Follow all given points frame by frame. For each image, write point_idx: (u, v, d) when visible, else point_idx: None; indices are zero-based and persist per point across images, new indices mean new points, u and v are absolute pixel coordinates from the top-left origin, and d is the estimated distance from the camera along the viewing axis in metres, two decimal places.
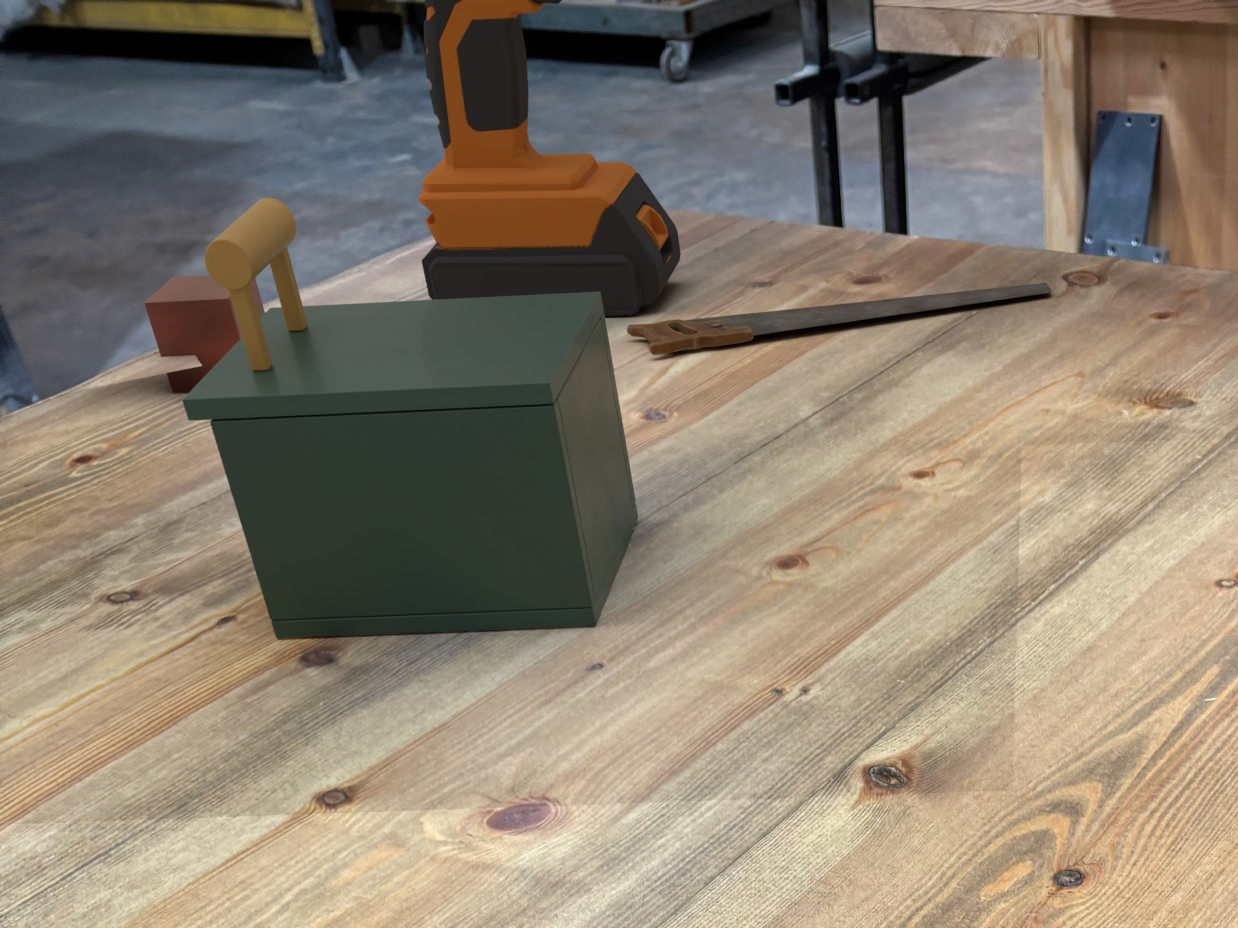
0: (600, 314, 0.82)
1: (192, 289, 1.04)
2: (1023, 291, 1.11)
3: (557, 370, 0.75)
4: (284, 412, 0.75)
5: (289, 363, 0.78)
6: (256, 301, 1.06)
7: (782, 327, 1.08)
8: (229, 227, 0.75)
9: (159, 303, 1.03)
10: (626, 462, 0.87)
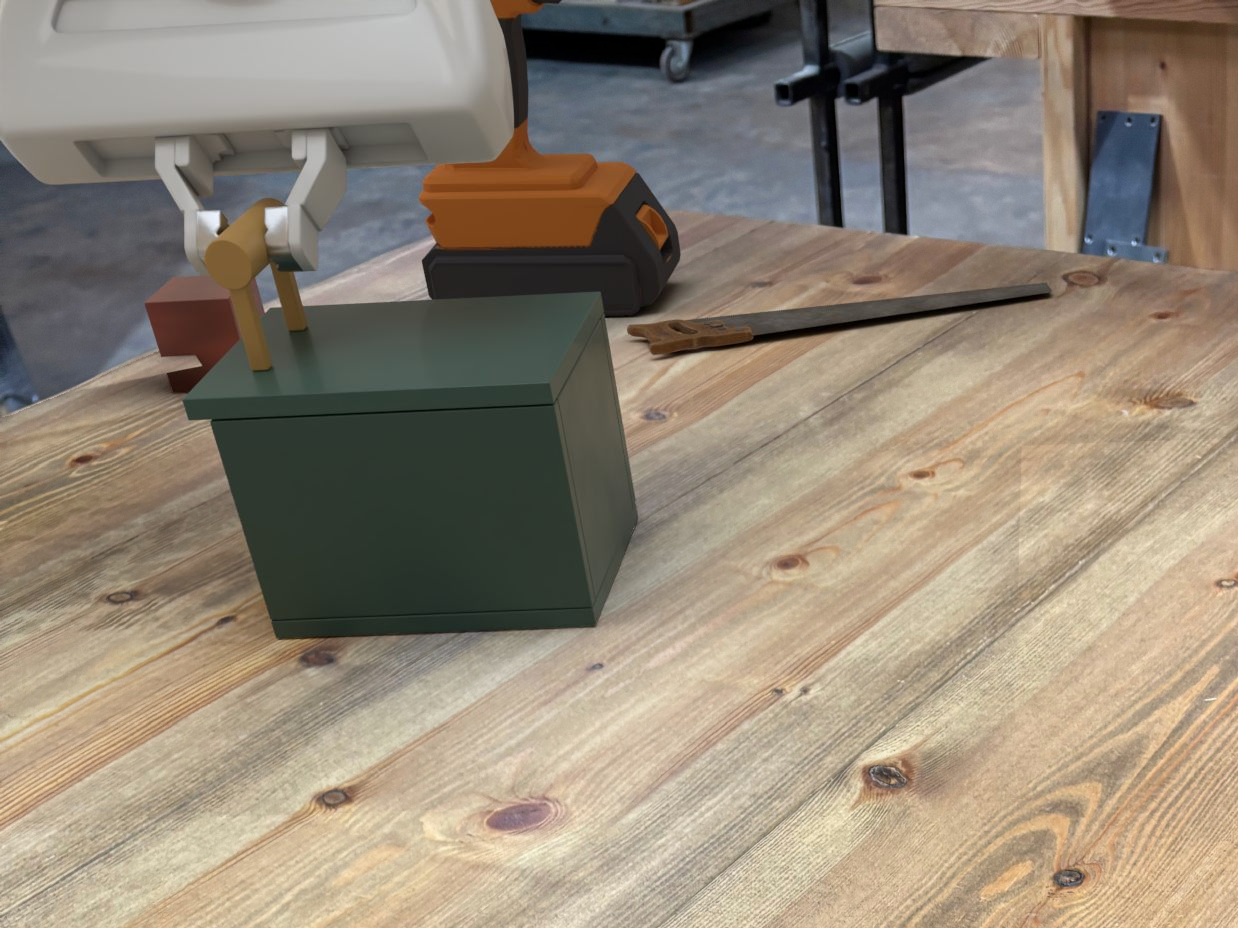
0: (600, 314, 0.82)
1: (192, 289, 1.04)
2: (1023, 291, 1.11)
3: (557, 370, 0.75)
4: (284, 412, 0.75)
5: (289, 363, 0.78)
6: (256, 301, 1.06)
7: (782, 327, 1.08)
8: (229, 227, 0.75)
9: (159, 303, 1.03)
10: (626, 462, 0.87)
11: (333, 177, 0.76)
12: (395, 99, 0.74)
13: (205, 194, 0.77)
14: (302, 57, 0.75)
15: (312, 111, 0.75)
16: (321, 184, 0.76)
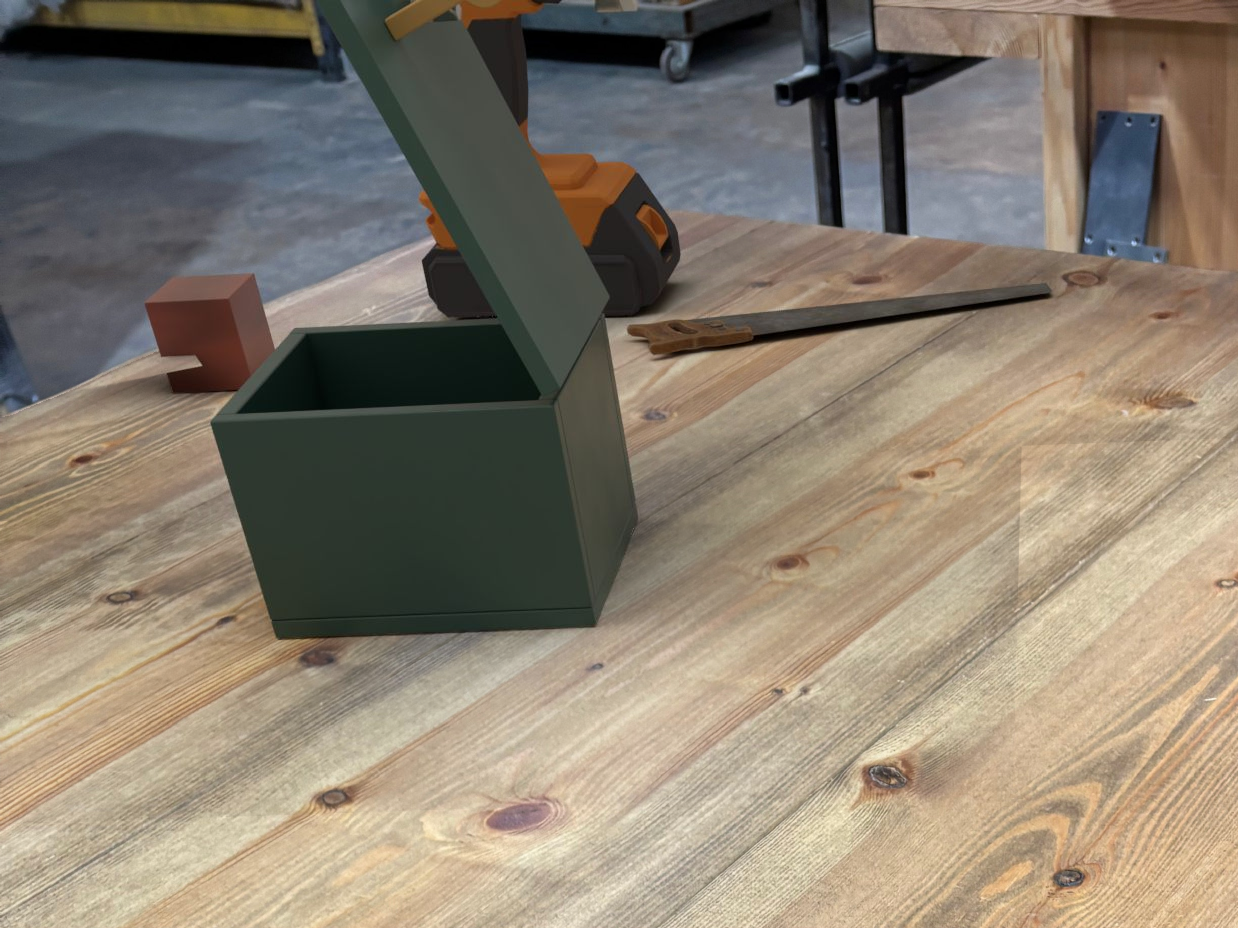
0: None
1: (192, 289, 1.04)
2: (1023, 291, 1.11)
3: (566, 376, 0.75)
4: (381, 108, 0.68)
5: (410, 53, 0.70)
6: (256, 301, 1.06)
7: (782, 327, 1.08)
8: None
9: (159, 303, 1.03)
10: (626, 462, 0.87)
11: None
12: None
13: None
14: None
15: None
16: None
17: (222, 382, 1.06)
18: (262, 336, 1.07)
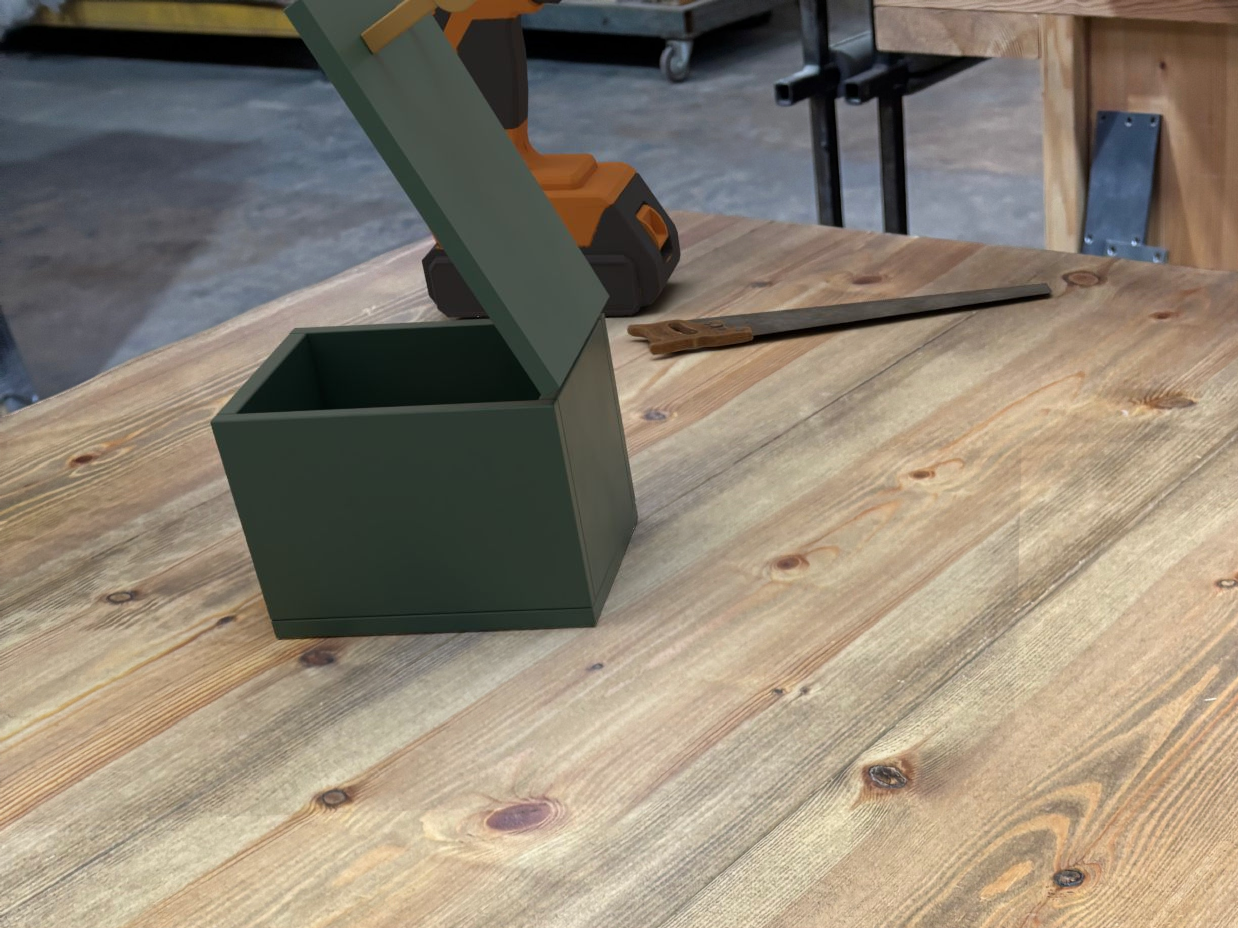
0: None
1: None
2: (1023, 291, 1.11)
3: None
4: (362, 122, 0.68)
5: (389, 66, 0.70)
6: None
7: (782, 327, 1.08)
8: None
9: None
10: (626, 462, 0.87)
11: None
12: None
13: None
14: None
15: None
16: None
17: None
18: None
